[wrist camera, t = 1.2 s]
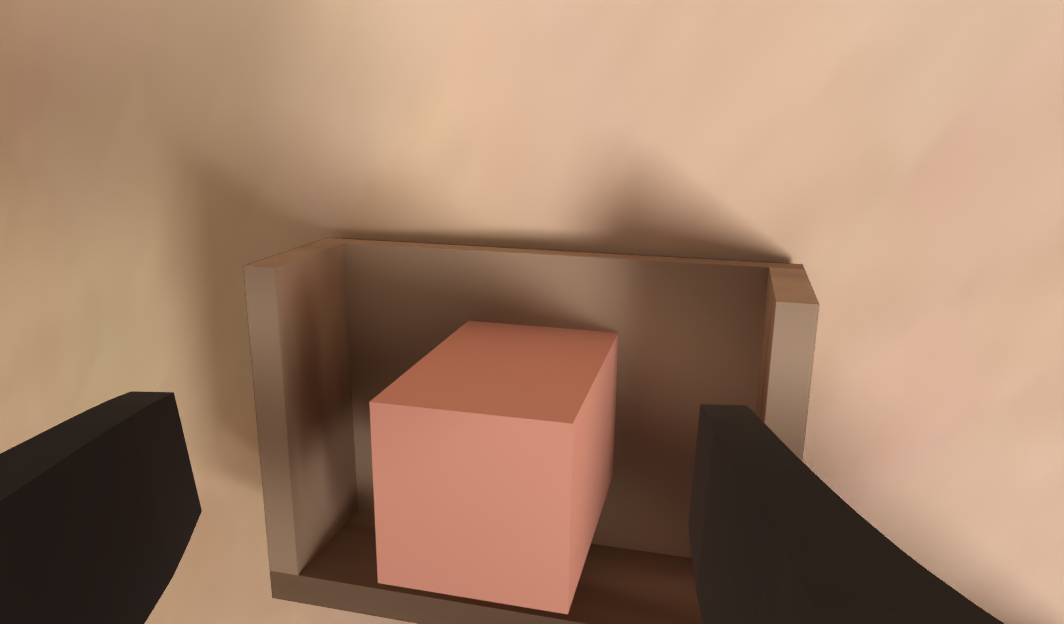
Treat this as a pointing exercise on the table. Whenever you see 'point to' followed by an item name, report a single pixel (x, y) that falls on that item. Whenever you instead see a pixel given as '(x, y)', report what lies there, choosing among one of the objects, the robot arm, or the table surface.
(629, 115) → the table surface
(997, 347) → the table surface
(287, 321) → the box
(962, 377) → the table surface
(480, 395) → the block
